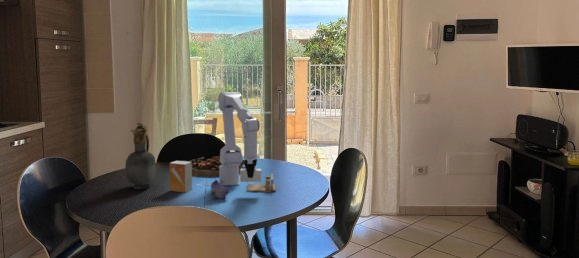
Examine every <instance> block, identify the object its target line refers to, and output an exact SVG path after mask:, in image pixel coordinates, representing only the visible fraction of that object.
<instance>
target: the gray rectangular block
mask: <svg viewBox="0 0 579 258" xmlns="http://www.w3.org/2000/svg"><path fill="white" fill-rule="evenodd" d="M239 180H240V183H242V182H243V183H244V182H245V183H246V182H247V183H251V182H253V183H254V182H255V183H259V182H260V183H261V182H262V168H255V169H254V175H253V178H248V176H247V170H246V168H244V169H241V170H240V172H239Z"/></svg>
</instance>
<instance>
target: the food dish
mask: <svg viewBox="0 0 579 258" xmlns="http://www.w3.org/2000/svg"><path fill="white" fill-rule="evenodd" d="M203 159H205V157H203V156H202V157H199V158H196V159H191V160H190V162H193V163H192V177H199V178H200V177H203V178H216V177H219V167H220V166H221V165H222V164H221V162H220V155H219V156H212V157H211V158H208V159H206V160H205V162H204V161H203ZM196 160H197V161H196ZM244 160H245V159H243V160H242V163H241V164H240V165H239V173H240V170H241V169H246V167H245V166H244V162H245V161H244ZM243 166H244V167H243Z"/></svg>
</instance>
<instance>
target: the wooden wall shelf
mask: <svg viewBox="0 0 579 258" xmlns="http://www.w3.org/2000/svg"><path fill="white" fill-rule="evenodd" d="M246 187H247V188H246V193H274V192H273V191H275V192H276V183H274V174H273V173H271V174H270V175H266V176H265V183H250V184H249V183H247V186H246Z"/></svg>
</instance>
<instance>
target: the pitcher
mask: <svg viewBox="0 0 579 258" xmlns="http://www.w3.org/2000/svg"><path fill="white" fill-rule="evenodd" d="M136 125H137V126H136V127H135V128H134V129H131V130H130V132H132V135H133V144H134V151H133V152H131V153H130V154H128V156H127V158H126V161H125V176H126V177H125V178H126V180H127V182H129V183H130V184H133V186H132V187H133V189H134V190H144V189H145V190H146V189H148V188H150V186H151V185H150V184H149V183H152V181H153V180H154V178H155V176H156V169H157V168H156V167H157V166H156V165H157V164H156V157H155V156H154V154H152V153H151V152H149V149H150V148H149V147H150V138H149V137H150V136H149V134H148V133H147V132H148V131H149V130H148V128H147V126H145V125H144V124H142V123H141V122H137V123H136Z"/></svg>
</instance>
